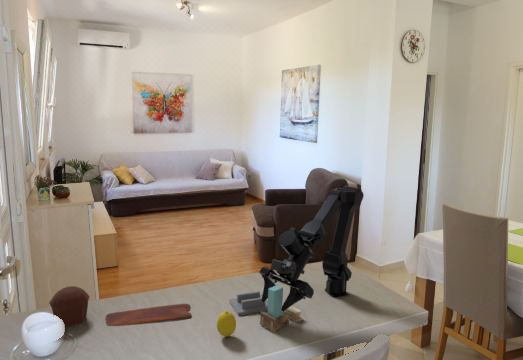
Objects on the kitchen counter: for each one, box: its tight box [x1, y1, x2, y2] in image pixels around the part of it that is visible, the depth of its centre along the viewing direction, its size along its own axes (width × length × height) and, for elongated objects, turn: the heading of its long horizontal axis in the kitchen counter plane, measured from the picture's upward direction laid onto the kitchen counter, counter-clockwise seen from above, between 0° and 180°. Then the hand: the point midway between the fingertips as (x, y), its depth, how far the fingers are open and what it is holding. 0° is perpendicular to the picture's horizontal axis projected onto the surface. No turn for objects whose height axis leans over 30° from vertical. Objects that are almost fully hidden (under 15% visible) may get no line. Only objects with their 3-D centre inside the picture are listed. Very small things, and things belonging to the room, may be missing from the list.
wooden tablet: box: [104, 303, 193, 327], centre depth 134 cm, size 27×10×2 cm, turn 105°
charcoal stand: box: [229, 290, 268, 316], centre depth 141 cm, size 12×10×4 cm
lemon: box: [216, 310, 237, 338], centre depth 122 cm, size 6×6×8 cm
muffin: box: [48, 285, 90, 328], centre depth 130 cm, size 12×11×10 cm
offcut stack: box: [282, 306, 304, 323], centre depth 135 cm, size 3×8×3 cm, turn 47°
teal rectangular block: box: [267, 284, 284, 318], centre depth 129 cm, size 4×2×12 cm, turn 135°
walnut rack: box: [259, 311, 290, 333], centre depth 129 cm, size 7×6×4 cm
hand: (272, 306), depth 128 cm, fingers open, 8 cm apart
